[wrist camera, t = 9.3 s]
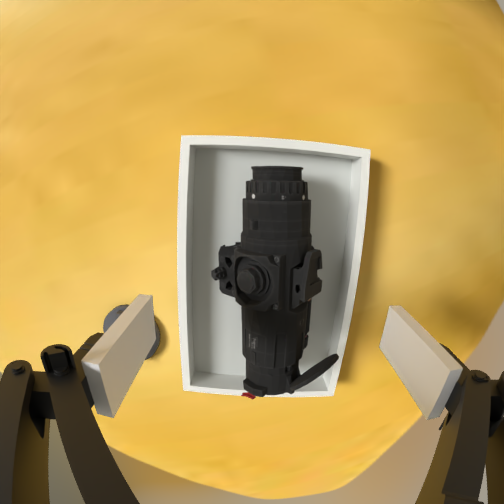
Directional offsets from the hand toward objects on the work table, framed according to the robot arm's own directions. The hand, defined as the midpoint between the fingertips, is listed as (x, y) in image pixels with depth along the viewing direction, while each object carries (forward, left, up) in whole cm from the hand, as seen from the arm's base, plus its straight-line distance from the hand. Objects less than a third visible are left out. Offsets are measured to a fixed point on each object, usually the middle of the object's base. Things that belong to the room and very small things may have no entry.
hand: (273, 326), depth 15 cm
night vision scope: (0, +1, -10) cm, 10 cm away
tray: (0, 0, -11) cm, 11 cm away
